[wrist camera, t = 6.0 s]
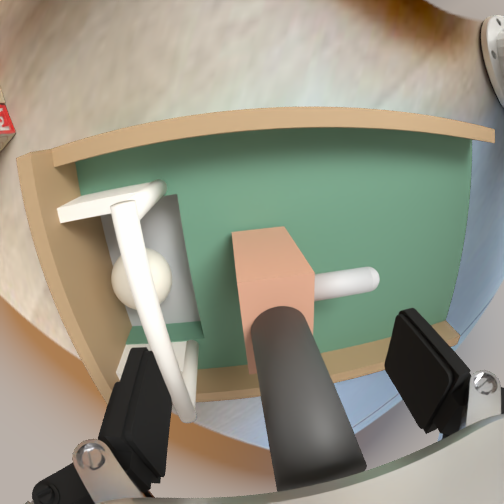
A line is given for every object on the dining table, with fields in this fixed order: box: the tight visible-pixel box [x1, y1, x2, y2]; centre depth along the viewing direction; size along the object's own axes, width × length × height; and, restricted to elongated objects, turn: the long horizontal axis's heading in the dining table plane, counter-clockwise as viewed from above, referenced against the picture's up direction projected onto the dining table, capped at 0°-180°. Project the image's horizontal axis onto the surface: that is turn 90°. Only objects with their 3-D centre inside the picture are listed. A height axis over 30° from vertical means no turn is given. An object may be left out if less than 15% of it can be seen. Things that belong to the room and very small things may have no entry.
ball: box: [111, 248, 172, 310], centre depth 18 cm, size 4×4×4 cm
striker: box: [232, 226, 380, 492], centre depth 12 cm, size 8×5×13 cm, turn 95°
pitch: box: [16, 107, 495, 423], centre depth 16 cm, size 28×18×9 cm, turn 95°
